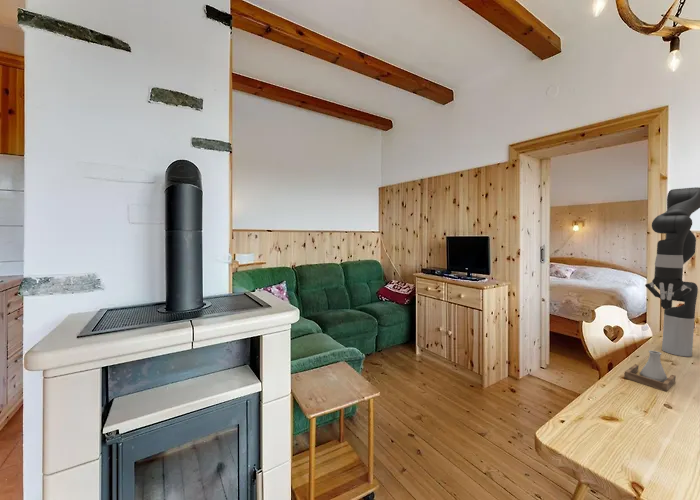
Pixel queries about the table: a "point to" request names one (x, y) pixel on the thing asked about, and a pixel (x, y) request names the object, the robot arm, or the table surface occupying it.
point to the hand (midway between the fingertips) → (666, 308)
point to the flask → (654, 367)
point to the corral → (648, 379)
